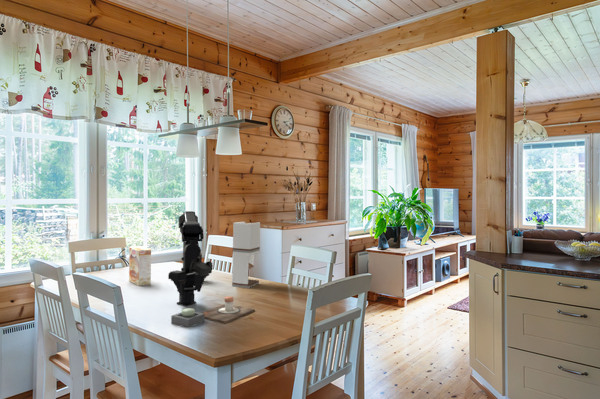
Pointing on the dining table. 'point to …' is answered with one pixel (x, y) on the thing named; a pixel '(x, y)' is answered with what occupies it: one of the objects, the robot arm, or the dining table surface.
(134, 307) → the dining table surface
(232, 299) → the mushroom
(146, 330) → the dining table surface
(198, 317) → the button housing
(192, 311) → the button
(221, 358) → the dining table surface
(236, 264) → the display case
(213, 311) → the colouring board
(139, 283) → the coffeecake box
